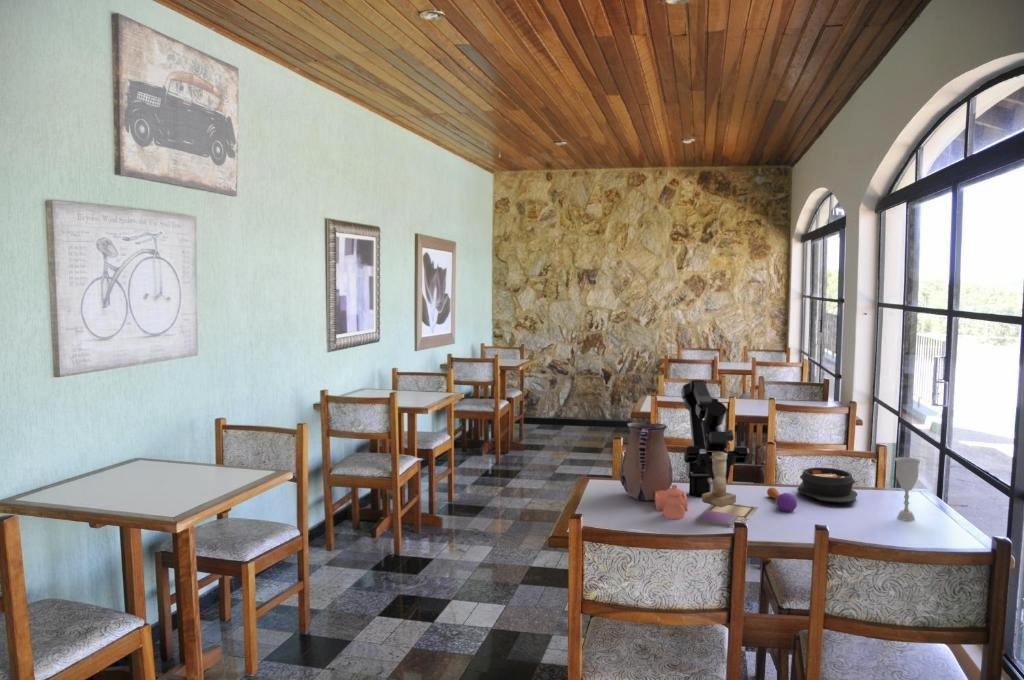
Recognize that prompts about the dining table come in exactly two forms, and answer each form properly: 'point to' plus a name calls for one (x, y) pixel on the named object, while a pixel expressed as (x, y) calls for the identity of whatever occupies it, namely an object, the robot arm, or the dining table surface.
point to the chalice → (907, 482)
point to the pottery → (671, 502)
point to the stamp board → (733, 511)
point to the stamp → (719, 483)
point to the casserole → (828, 485)
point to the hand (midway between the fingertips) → (720, 478)
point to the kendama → (783, 500)
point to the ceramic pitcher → (646, 461)
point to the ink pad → (717, 518)
